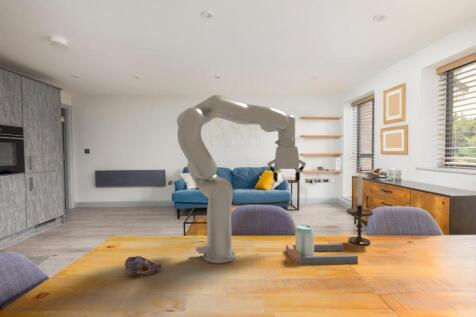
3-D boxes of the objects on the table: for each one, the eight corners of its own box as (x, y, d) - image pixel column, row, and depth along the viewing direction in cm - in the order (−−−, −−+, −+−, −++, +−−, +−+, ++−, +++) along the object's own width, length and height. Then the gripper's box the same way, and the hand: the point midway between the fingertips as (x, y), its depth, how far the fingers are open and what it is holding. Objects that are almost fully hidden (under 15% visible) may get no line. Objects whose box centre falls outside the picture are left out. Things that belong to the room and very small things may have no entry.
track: (294, 264, 92) (294, 256, 92) (286, 250, 105) (286, 243, 105) (357, 262, 93) (358, 254, 93) (341, 249, 106) (341, 242, 106)
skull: (163, 267, 90) (163, 251, 90) (158, 278, 82) (158, 260, 82) (129, 269, 89) (128, 252, 89) (121, 280, 81) (120, 262, 81)
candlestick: (367, 238, 119) (368, 165, 118) (376, 247, 108) (377, 167, 107) (343, 237, 120) (344, 165, 119) (349, 245, 110) (350, 166, 109)
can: (297, 251, 103) (297, 223, 103) (315, 255, 100) (315, 225, 100) (293, 258, 97) (293, 228, 97) (312, 262, 94) (312, 230, 94)
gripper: (268, 143, 107) (268, 182, 107) (308, 143, 108) (308, 182, 108) (266, 143, 114) (266, 180, 115) (302, 143, 115) (302, 180, 116)
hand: (286, 181), depth 111 cm, fingers open, 9 cm apart
